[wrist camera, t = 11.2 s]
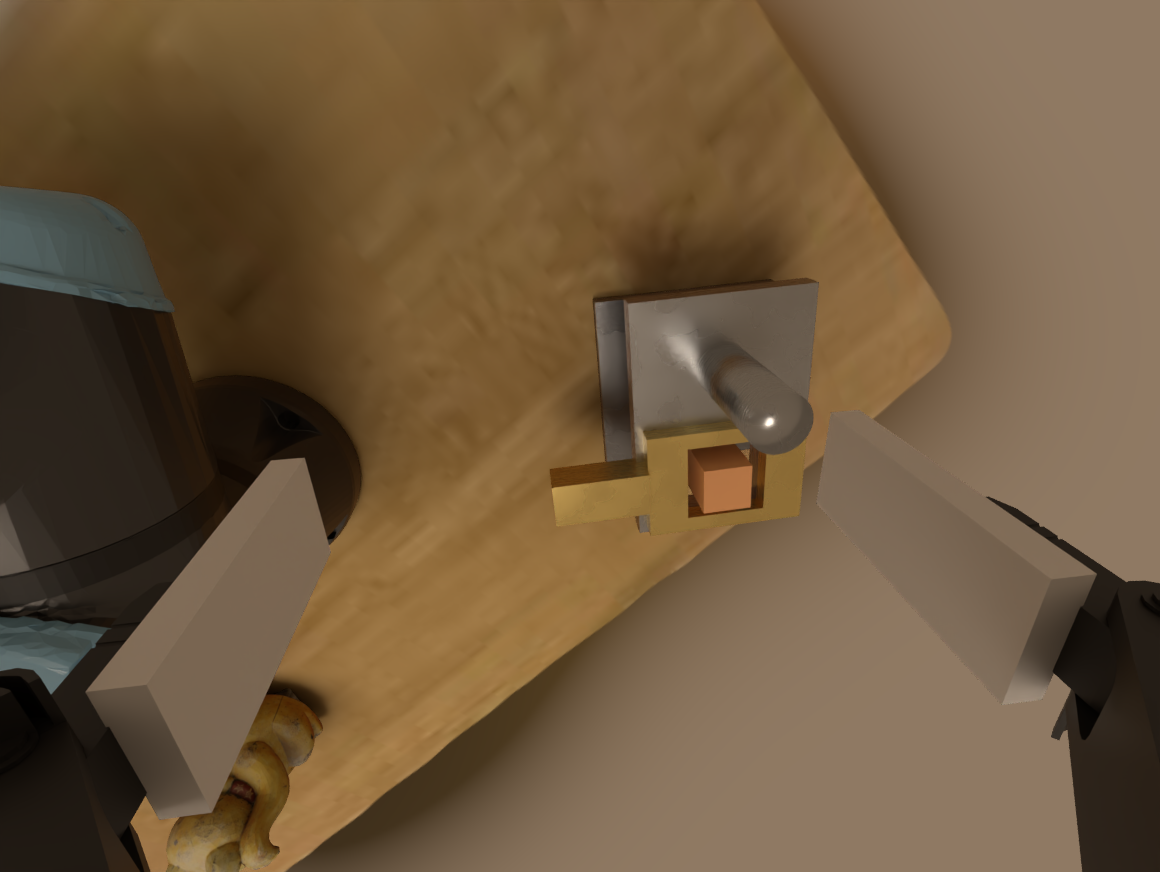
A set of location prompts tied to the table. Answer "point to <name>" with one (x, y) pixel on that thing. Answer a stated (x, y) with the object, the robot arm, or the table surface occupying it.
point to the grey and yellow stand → (697, 402)
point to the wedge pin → (720, 478)
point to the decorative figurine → (248, 793)
